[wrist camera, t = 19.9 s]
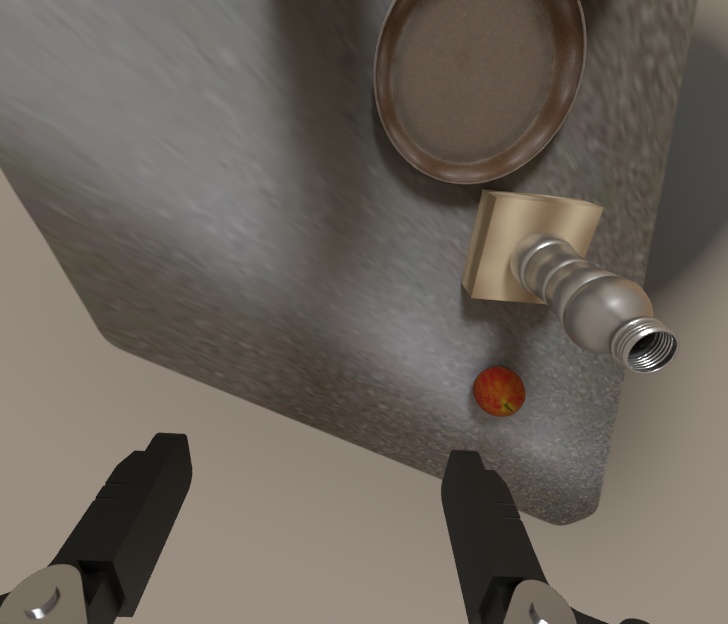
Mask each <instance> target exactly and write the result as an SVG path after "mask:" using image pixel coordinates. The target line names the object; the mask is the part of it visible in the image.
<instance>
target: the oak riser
mask: <svg viewBox="0 0 728 624" xmlns="http://www.w3.org/2000/svg"><path fill="white" fill-rule="evenodd" d="M603 209H604V208H603V207H600V206H597V205H595V204H592V203H590V202H587V201H584V200H582V199H578V198H568V197H558V196H548V195H538V194H528V193H518V192H508V191H498V190H488V189H483V190H482V194H481V199H480V203H479V207H478V211H477V216H476V220H475V224H474V228H473V233H472V237H471V241H470V246H469V250H468V254H467V258H466V263H465V267H464V271H463V275H462V280H461V283H462V284H463V286H464V288H465V289H466V291H467V292H468V294H469V296H470V297H471V298H476V299H488V300H500V301H513V302H525V303H537V304H546V303H545V302H544V301H543V300H541V299H540V298H539V297H537V296H536V295H535V294H533V293H531V292H529V291H527V290H525V289H524V288H523V287H521V286H520V285H519V284H518V283H517V282H516V280H515V278H514V276H513V274H512V272H511V269H510V257H511V254H512V252H513V249H514V248H515V246H516V245H517V244H518V243H519V242H520V241H521V240H522V239H523V238H524V237H526V236H528V235H529V234H532V233H535V232H540V231H543V232H550V233H554V234H558V235H560V236H562V237H563V238H564V239H565V240H567V241H568V242H569V243H570V245H571V246H572V247H573V248H574V250H575V251H576V252H577V253H578V254H579V255H580V256H581V257H582V258H585V255H586V253H587V250H588V248H589V245H590V242H591V240H592V237H593V235H594V232H595V229H596V227H597V224H598V222H599V219H600V216H601V214H602V211H603Z"/></svg>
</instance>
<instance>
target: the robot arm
mask: <svg viewBox="0 0 728 624" xmlns="http://www.w3.org/2000/svg"><path fill="white" fill-rule="evenodd" d="M191 479H192V464H191V458H190V451H189V445H188V440H187V436H186V435H185V434H175V433H157V434H156V435H155V436H154V437H153V439H152V440H151V442H150V444H149V445H148V447H147V449H146V450H145V451H134V452H132V453H131V454H130V455H129V456H128V457H127V458H125V459H124V460H123V461H122V462H120V463H119V464H118V465H117V466H116V468H115V469H114V471H113V472H112V474H111V475H110V477H109V478H108V480H107V481H106V484H105V486H103V487H102V488H101V490H100V491H99V493H98V494H97V496H96V499H95V501H93V502H92V503H91V505H90V506H89V508H88V509H87V511H86V512H85V514H84V515H83V517H82V518H81V520H80V521H79V523H78V524H77V526H76V527H75V528H74V530H73V531H72V533H71V534H70V536H69V537H68V539H67V540H66V542H65V543H64V545H63V546H62V548H61V549H60V551H59V552H58V554H57V555H56V557H55V558H54V559H53V560H52V562H51V563H50V564H49V565H48V566H47V567H46V568H43V569H41V570H39V571H37V572H35V573H34V574H32V575H30V576H29V577H27V578H26V579H24V580H23V581H22V582H21V583H20V584H18V585H17V586H16V587H15V588H14V589H13V590H12V591H11V592H9V593H6V594H3V595H0V624H113V623H114V621H115V619H116V617H133V615H134V613H135V611H136V608H137V606H138V604H139V601H140V599H141V597H142V595H143V592H144V590H145V588H146V586H147V583H148V581H149V579H150V577H151V574H152V572H153V570H154V568H155V565H156V563H157V561H158V558H159V556H160V554H161V552H162V549H163V547H164V545H165V543H166V540H167V538H168V536H169V533H170V531H171V529H172V527H173V524H174V522H175V520H176V518H177V515H178V513H179V511H180V509H181V506H182V504H183V502H184V499H185V497H186V495H187V493H188V490H189V487H190V484H191ZM441 497H442V505H443V509H444V514H445V518H446V523H447V527H448V532H449V536H450V540H451V545H452V550H453V554H454V559H455V563H456V567H457V572H458V577H459V581H460V586H461V590H462V594H463V599H464V604H465V608H466V613H467V617H468V621H469V624H608V623H606V622H603V621H600V620H598V619H595V618H593V617H590V616H588V615H585V614H583V613H581V612H578V611H576V610H575V609H573V608H572V607H570V606H569V605H568V603H567V602H566V600H565V599H564V598H563V597H562V596H561V595H560V594H559V593H558V592H557V591H556V590H555V589H553V588H552V587H551V586H550V585H549V584H548V582H547V580H546V578H545V576H544V574H543V571H542V569H541V566H540V564H539V562H538V559H537V557H536V554H535V552H534V550H533V547H532V545H531V542H530V540H529V537H528V535H527V532H526V530H525V527H524V525H523V522H522V521H521V520H520V515H519V513H518V510H517V508H516V506H515V505H514V500H513V498H512V495H511V493H510V490H509V488H508V486H507V484H506V483H505V482H504V481H503V480H502V478H501V477H500V476H499V475H498V474H497V472H496V471H495V470H485V468H484V466H483V463H482V460H481V457H480V455H479V453H478V452H477V451H466V450H452V451H451V453H450V456H449V460H448V463H447V467H446V470H445V474H444V477H443V481H442V486H441ZM620 624H649V623H647V622H645V621H642V620H639V619H626V620H624V621H622V622H621V623H620Z"/></svg>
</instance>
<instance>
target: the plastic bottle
mask: <svg viewBox="0 0 728 624" xmlns="http://www.w3.org/2000/svg"><path fill="white" fill-rule="evenodd" d="M510 269H511V272H512V274H513V276H514V278H515V280H516V282H517V283H518V284H519V285H520V286H521V287H523V288H524V289H525V290H527V291H529V292H531V293H533V294H535V295H536V296H537V297H539V298H540V299H541V300H543V301H544V302H545V303H546V304H547V305H548V307H549V308H550V309H551V310H552V311H553V313H554V314H555V315H556V317H557V318H558V320H559V321H560V323H561V325H562V326H563V328H564V330H565V331H566V333H567V334H568V335H569V337H570V338H571V339H572V341H573V342H574V343H575V344H576V345H578V346H579V347H581V348H583V349H585V350H587V351H590V352H592V353H596V354H606V355H612V356H613V357H614V358H615V359H616V360H617V361H619V362H620V363H623V364H624V365H625V366H626V367H627V368H628V369H629V370H631V371H633V372H635V373H638V374H650V373H654V372H657V371H659V370H661V369H662V368H664V367H666V366H667V365H668V364H670V362H671V361H672V360H673V359H674V358H675V356H676V355H677V353H678V350H679V339H678V337H677V336H676V335H675V334H674V333H673V332H672V331H671V330H669V329H668V328H666V327H665V326H664V325H663V324H662V323H661V322H660V321H659V320H657V319H655V318H653V310H652V305H651V301H650V300H649V298H648V296H647V295H646V293H645V292H644V290H643V289H642V288H641V287H640V286H639V285H637V284H636V283H634V282H632V281H630V280H628V279H626V278H623V277H621V276H618V275H615V274H613V273H610V272H608V271H605V270H602V269H600V268H599V267H597V266H595V265H593V264H591V263H589V262H588V261H586V260H585V259H584V258H582V257H581V256H580V255H579V254H578V253H577V252H576V251H575V250H574V248H573V247H572V246H571V245H570V243H569V242H568V241H567V240H565V239H564V238H563V237H562V236H560V235H558V234H554V233H550V232H543V231H540V232H535V233H532V234H529V235H528V236H526V237H524V238H523V239H522V240H521V241H520V242H519V243H518V244H517V245H516V246H515V248H514V249H513V252H512V254H511V257H510Z"/></svg>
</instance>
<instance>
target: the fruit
mask: <svg viewBox="0 0 728 624" xmlns="http://www.w3.org/2000/svg"><path fill="white" fill-rule="evenodd" d="M474 396H475V399H476V401H477V403H478V404H479V406H480V407H481V408H482V409H483V410H484V411H485V412H487V413H489V414H491V415H493V416H509V415H512V414H514V413H515V412H517V411H518V410H519V409H520V407H521V406H522V404H523V402H524V400H525V389H524V385H523V383H522V381H521V379H520V378H519V376H518V375H517V374H516V373H514V372H513V371H511V370H510V369H508V368H505V367H499V366H496V367H491V368H488V369H486V370H484V371H483V372H481V373H480V374H479V375H478V376H477V378H476V380H475V383H474Z"/></svg>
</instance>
